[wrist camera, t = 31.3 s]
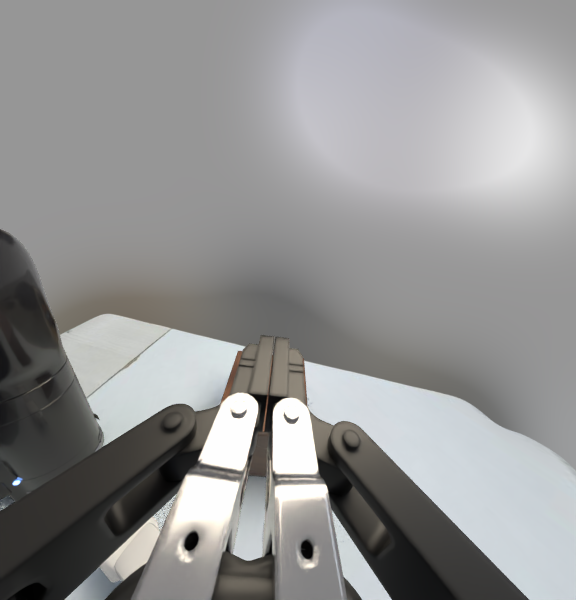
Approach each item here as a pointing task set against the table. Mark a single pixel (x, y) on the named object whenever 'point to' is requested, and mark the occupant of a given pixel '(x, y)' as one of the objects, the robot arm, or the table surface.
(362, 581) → the table surface
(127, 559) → the power adapter
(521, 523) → the table surface
